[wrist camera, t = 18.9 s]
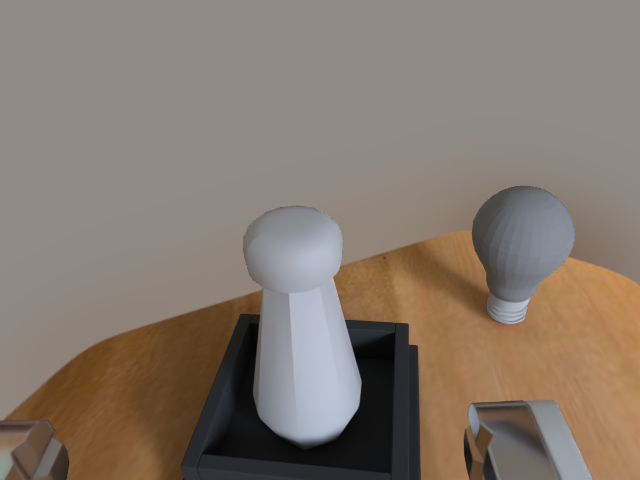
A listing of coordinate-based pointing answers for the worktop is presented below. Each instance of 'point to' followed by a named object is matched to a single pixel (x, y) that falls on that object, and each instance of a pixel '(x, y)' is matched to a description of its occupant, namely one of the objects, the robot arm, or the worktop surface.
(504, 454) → the robot arm
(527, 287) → the light bulb
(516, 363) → the worktop surface
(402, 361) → the pad
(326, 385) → the salt shaker
